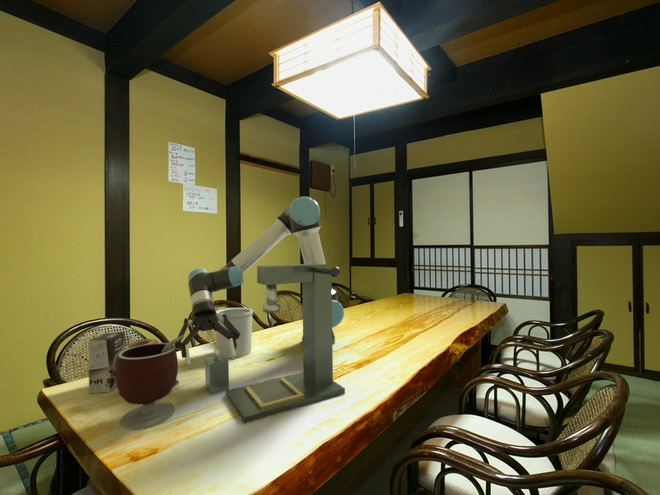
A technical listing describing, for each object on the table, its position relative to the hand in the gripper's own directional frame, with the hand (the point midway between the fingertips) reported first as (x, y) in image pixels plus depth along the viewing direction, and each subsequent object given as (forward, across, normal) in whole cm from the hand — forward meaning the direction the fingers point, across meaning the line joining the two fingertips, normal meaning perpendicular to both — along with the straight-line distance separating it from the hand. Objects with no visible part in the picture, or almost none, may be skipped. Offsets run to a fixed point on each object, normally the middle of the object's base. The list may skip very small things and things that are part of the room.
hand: (212, 362), depth 100 cm
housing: (+7, -1, -4) cm, 8 cm away
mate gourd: (+12, +17, +1) cm, 21 cm away
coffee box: (-7, +28, -19) cm, 34 cm away
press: (+20, -17, +10) cm, 28 cm away
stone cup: (-1, +17, -12) cm, 21 cm away
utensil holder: (-15, -15, -27) cm, 34 cm away
